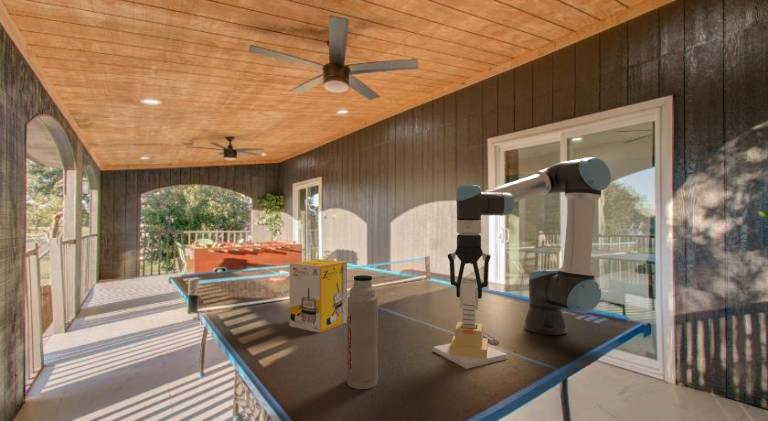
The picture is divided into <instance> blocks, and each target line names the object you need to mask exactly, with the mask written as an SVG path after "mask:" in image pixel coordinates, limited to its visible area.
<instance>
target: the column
mask: <svg viewBox="0 0 768 421" xmlns="http://www.w3.org/2000/svg"><path fill="white" fill-rule="evenodd" d="M461 286H462V309H461V312H462V313H461V319H462V320H461V322H462V328H467V329H476V323H477V310H475V288H476V287H477V281H476V278H462V281H461Z"/></svg>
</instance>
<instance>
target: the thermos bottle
mask: <svg viewBox="0 0 768 421" xmlns="http://www.w3.org/2000/svg"><path fill="white" fill-rule="evenodd" d="M372 280H373V276H372V275H369V274H368V275H365V274H364V275H363V274H362V275H354V276H353V285H352V287H351V288H350V289H349V296H347V350H346V351H347V352H346V354H347V360H346V361H347V374H346V375H347V377H346V378H347V381H346V382H347V385H348V386H349V387H350V388H353V389H357V390H366V389H371V388H374V387H376V386H377V385H378V381H379V378H378V377H379V375H378V374H379V372H378V370H379V366H378V365H379V363H378V362H379V361H378V360H379V357H378V346H379V344H378V343H379V338H378V337H379V326H378V325H379V317H378V316H379V314H378V312H379V310H378V308H379V302H378V301H379V298H378V296H376V294H377V293H376V288H374V286H373V281H372Z"/></svg>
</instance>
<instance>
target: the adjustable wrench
mask: <svg viewBox="0 0 768 421" xmlns="http://www.w3.org/2000/svg"><path fill="white" fill-rule="evenodd" d="M483 338H487V339H488V341H489V342H488V343H490V344H491V343H492V344H491V345H495V344H498V345H499V344H500V341H499V339H498V338H496V337H494V336H493V335H491V334H489V333H487V332H485V331H484V330H483Z"/></svg>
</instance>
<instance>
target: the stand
mask: <svg viewBox="0 0 768 421" xmlns="http://www.w3.org/2000/svg"><path fill="white" fill-rule="evenodd" d="M483 331H484V324H483V323H477V322H476V329H467V328H462V321H461V322H460V321H458V322H457V323H456V326H455V329H454V335H453V337H452V339H451V342H450V343H445V344H440V345H435V346H433V352H434V353H436V354H438V355H440V356H441V357H444V358H445V359H447V360H449V361H451V362H453V363H455V364H457V365H458V366H460V367H462V368H464V369H466V370H467V369H471V368H477V367H481V366H484V365H487V364H492V363H495V362H501V361H504V360H508V354H507V353H505V352H503V351H501V350H498V349H496V348H494V347H492V346H489V342H488V339H487V338H483Z"/></svg>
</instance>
